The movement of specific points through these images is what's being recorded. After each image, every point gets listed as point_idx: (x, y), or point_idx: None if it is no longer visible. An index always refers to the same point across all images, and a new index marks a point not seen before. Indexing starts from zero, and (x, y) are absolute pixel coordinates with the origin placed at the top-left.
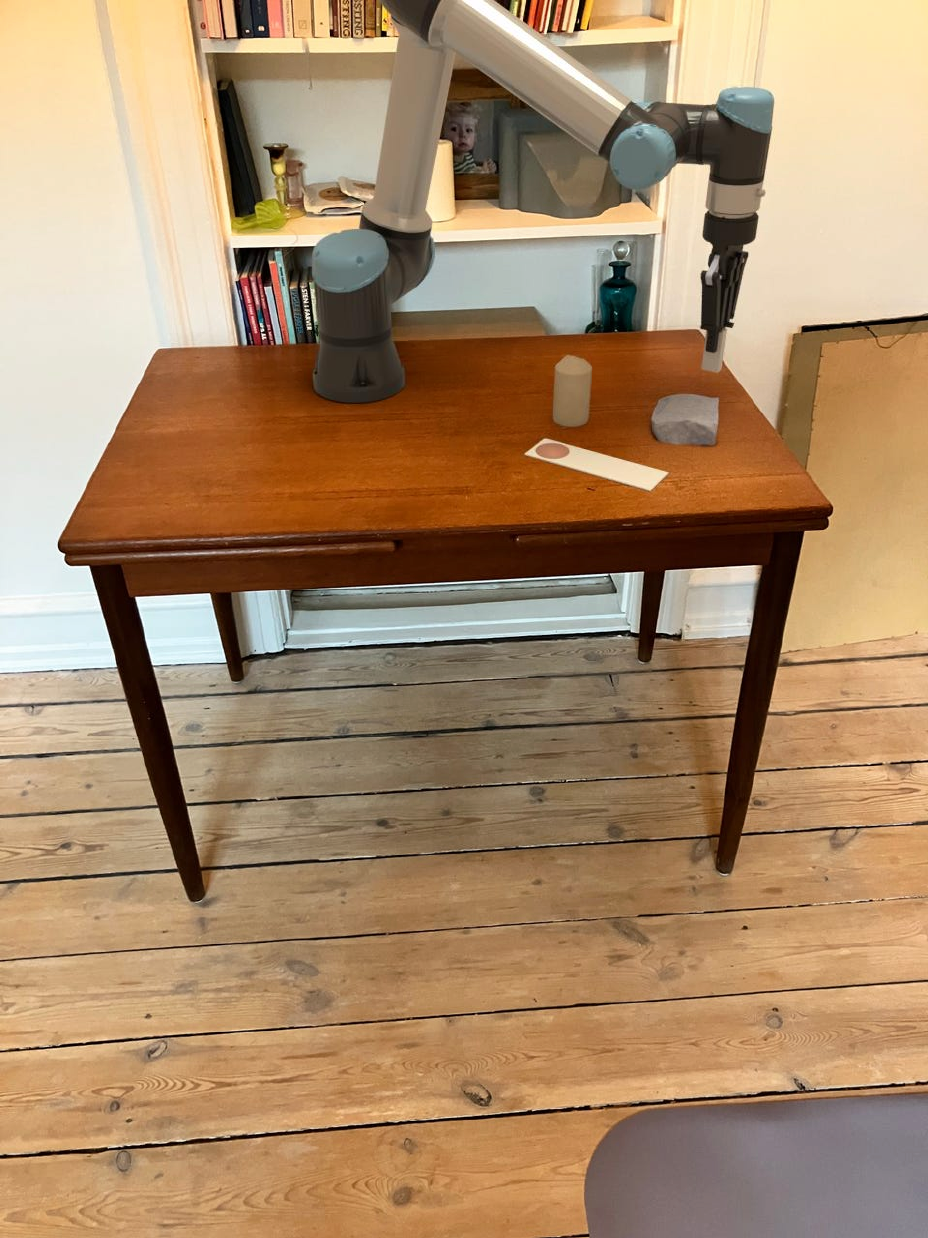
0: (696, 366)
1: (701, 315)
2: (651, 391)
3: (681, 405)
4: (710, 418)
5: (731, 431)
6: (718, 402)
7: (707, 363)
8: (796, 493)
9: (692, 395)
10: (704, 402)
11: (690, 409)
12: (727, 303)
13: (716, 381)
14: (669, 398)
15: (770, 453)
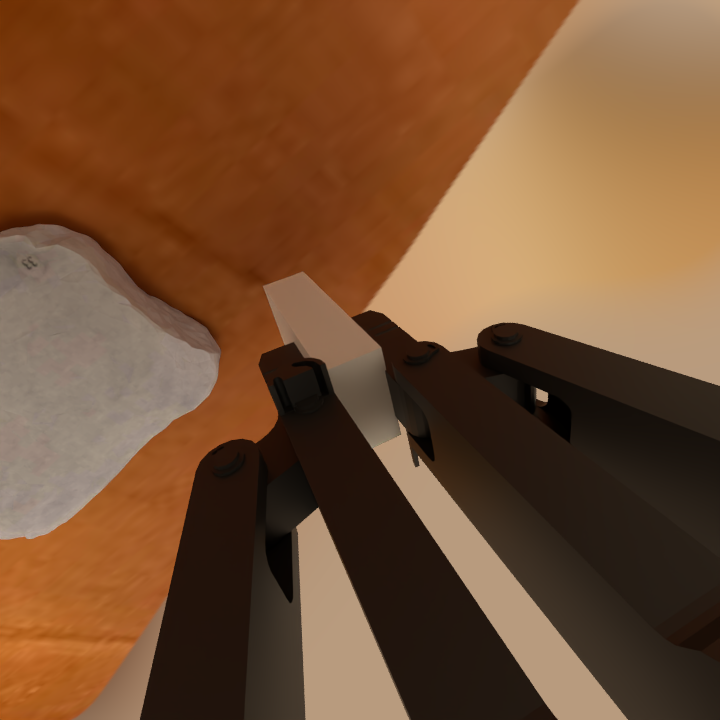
0: (483, 25)
1: (175, 572)
2: (154, 32)
3: (21, 369)
4: (17, 533)
5: (168, 448)
6: (186, 412)
7: (278, 319)
8: (63, 698)
9: (133, 334)
10: (130, 400)
11: (12, 433)
12: (488, 541)
13: (418, 177)
14: (42, 267)
15: (161, 564)
